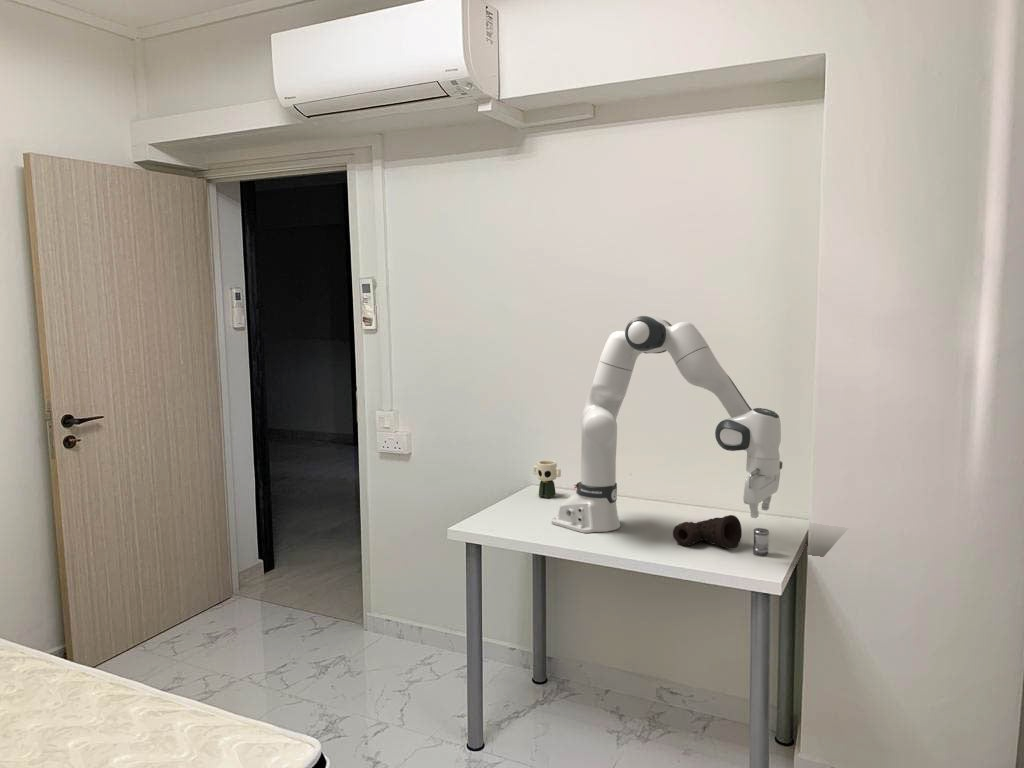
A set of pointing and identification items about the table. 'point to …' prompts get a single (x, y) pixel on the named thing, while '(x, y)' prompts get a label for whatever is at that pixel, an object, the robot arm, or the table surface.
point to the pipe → (710, 532)
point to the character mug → (547, 477)
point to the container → (761, 542)
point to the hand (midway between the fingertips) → (759, 513)
